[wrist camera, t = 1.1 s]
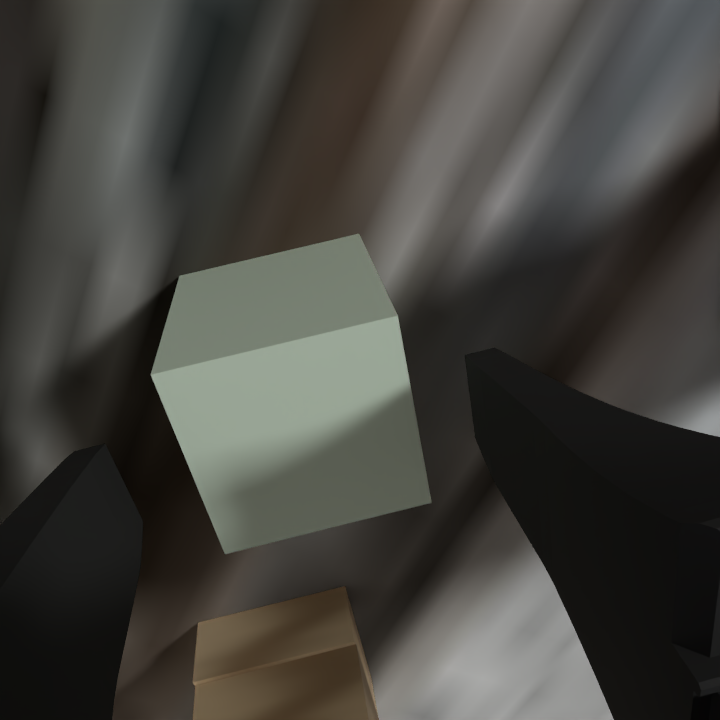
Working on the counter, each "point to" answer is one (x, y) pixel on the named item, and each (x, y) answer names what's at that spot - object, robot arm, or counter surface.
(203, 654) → the slab lower
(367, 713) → the slab upper
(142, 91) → the counter surface
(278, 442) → the sage block
